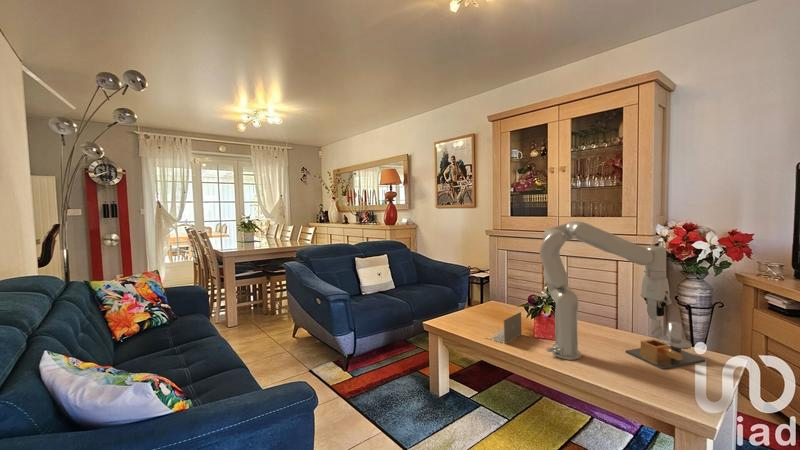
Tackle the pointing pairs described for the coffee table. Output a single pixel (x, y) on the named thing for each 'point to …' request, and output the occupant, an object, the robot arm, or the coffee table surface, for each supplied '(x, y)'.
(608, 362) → the coffee table surface
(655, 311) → the grey block
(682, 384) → the coffee table surface
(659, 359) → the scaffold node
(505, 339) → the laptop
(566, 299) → the robot arm
